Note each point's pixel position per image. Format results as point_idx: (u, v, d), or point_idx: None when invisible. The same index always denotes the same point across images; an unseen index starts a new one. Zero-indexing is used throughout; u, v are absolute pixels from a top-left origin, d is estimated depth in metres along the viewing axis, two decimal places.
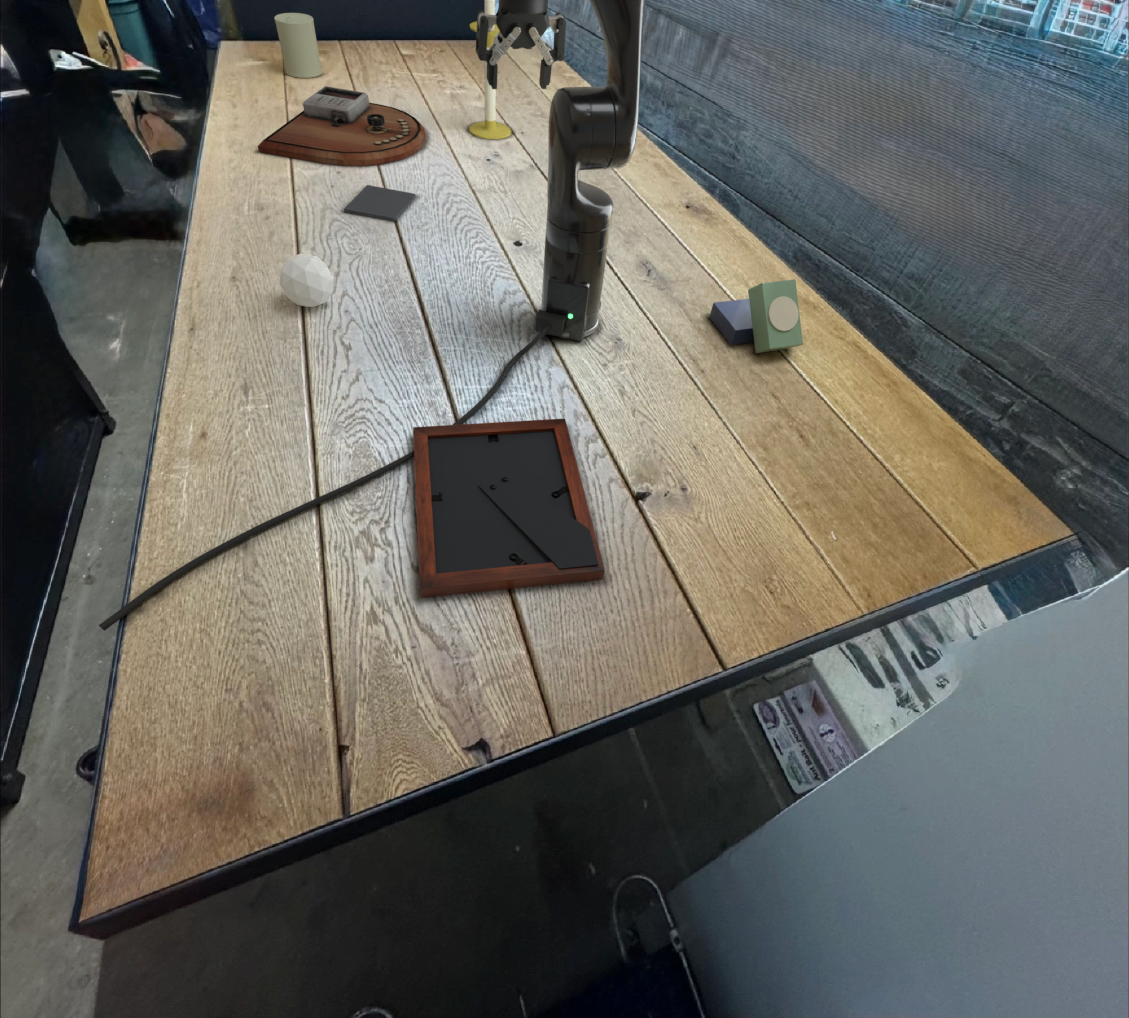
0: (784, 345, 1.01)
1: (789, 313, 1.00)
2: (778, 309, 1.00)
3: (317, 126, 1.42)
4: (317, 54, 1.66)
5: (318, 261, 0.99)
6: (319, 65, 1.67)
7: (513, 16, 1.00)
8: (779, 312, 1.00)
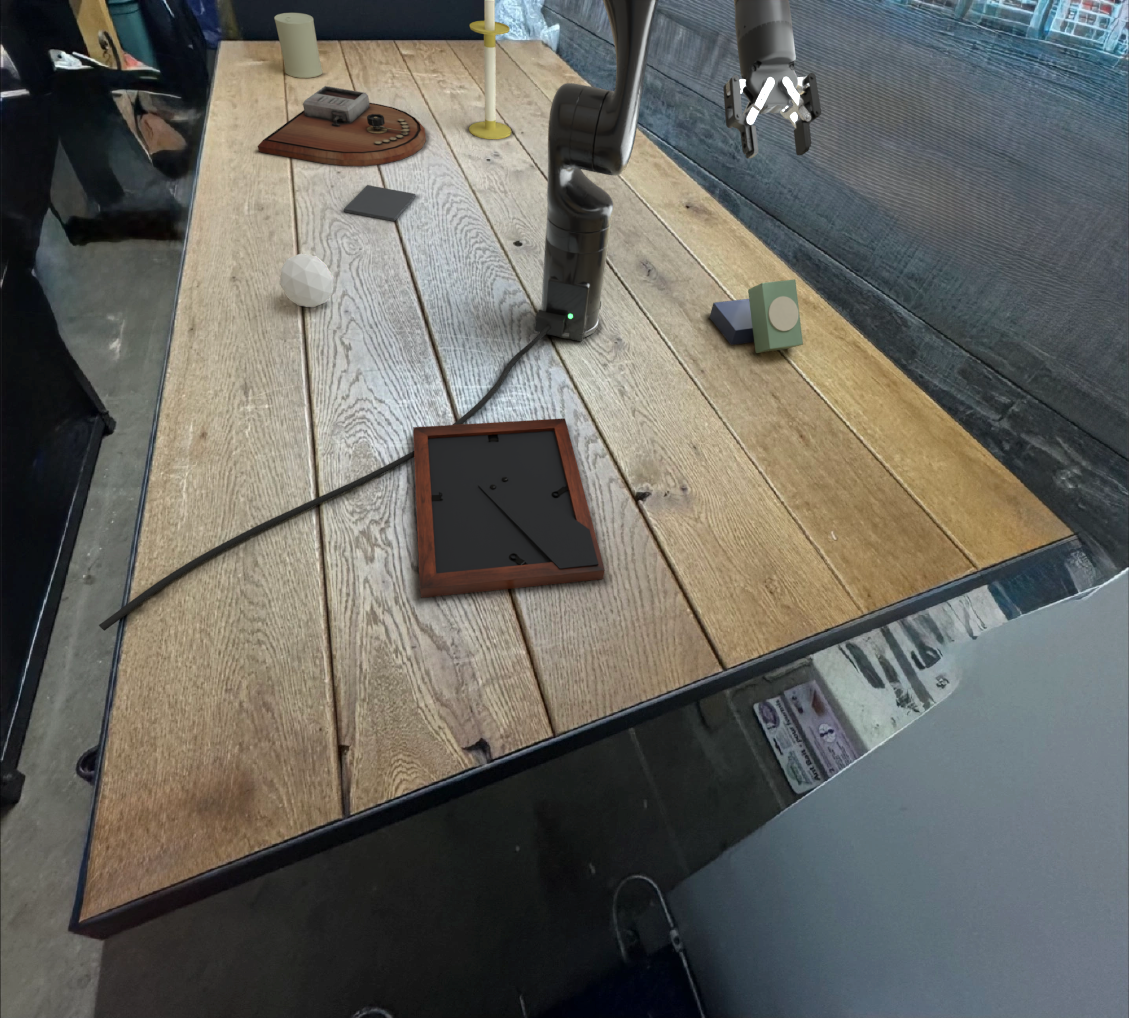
0: (784, 345, 1.01)
1: (789, 313, 1.00)
2: (778, 309, 1.00)
3: (317, 126, 1.42)
4: (317, 54, 1.66)
5: (318, 261, 0.99)
6: (319, 65, 1.67)
7: (763, 72, 0.92)
8: (779, 312, 1.00)
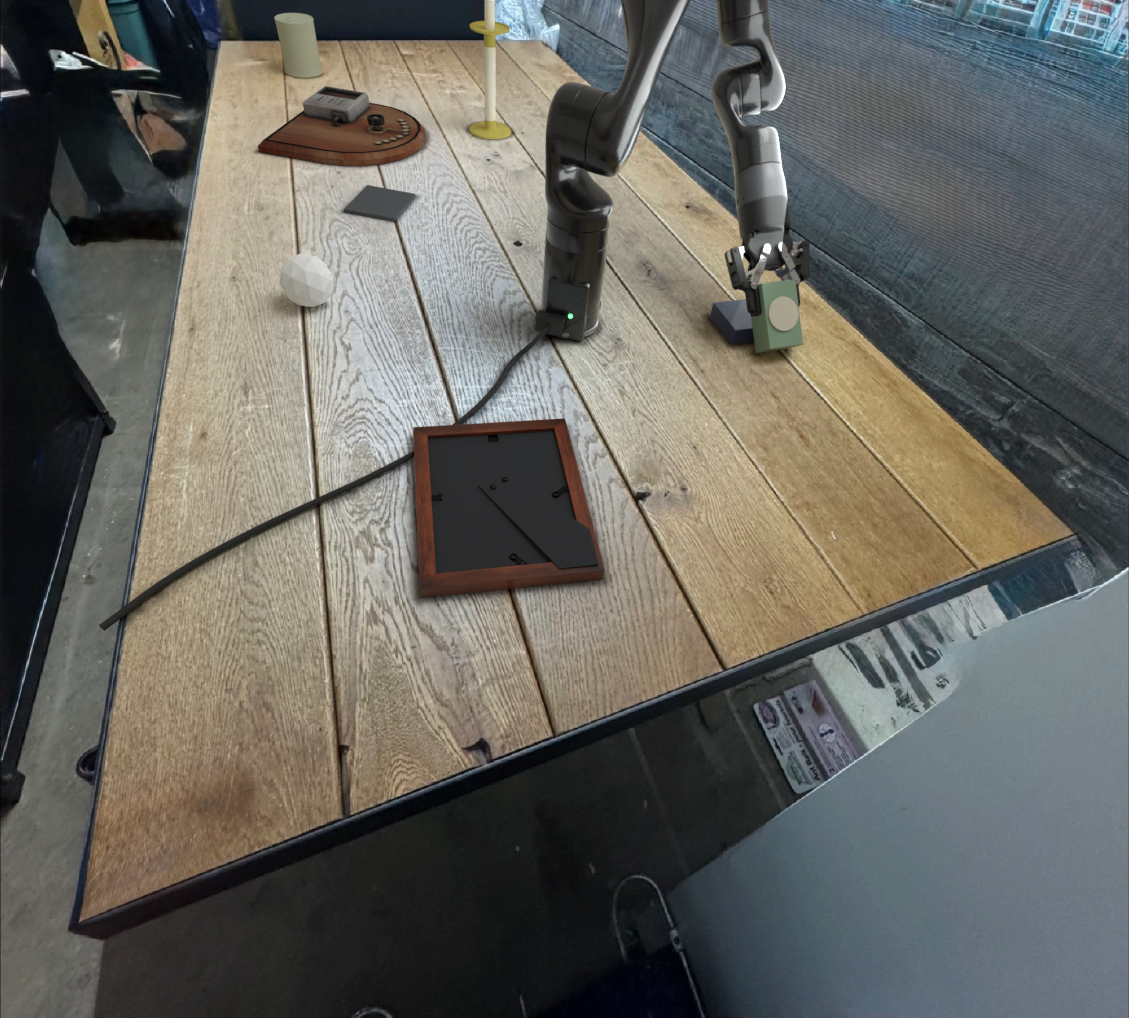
0: (784, 345, 1.01)
1: (789, 313, 1.00)
2: (778, 309, 1.00)
3: (317, 126, 1.42)
4: (317, 54, 1.66)
5: (318, 261, 0.99)
6: (319, 65, 1.67)
7: (760, 238, 0.99)
8: (779, 312, 1.00)
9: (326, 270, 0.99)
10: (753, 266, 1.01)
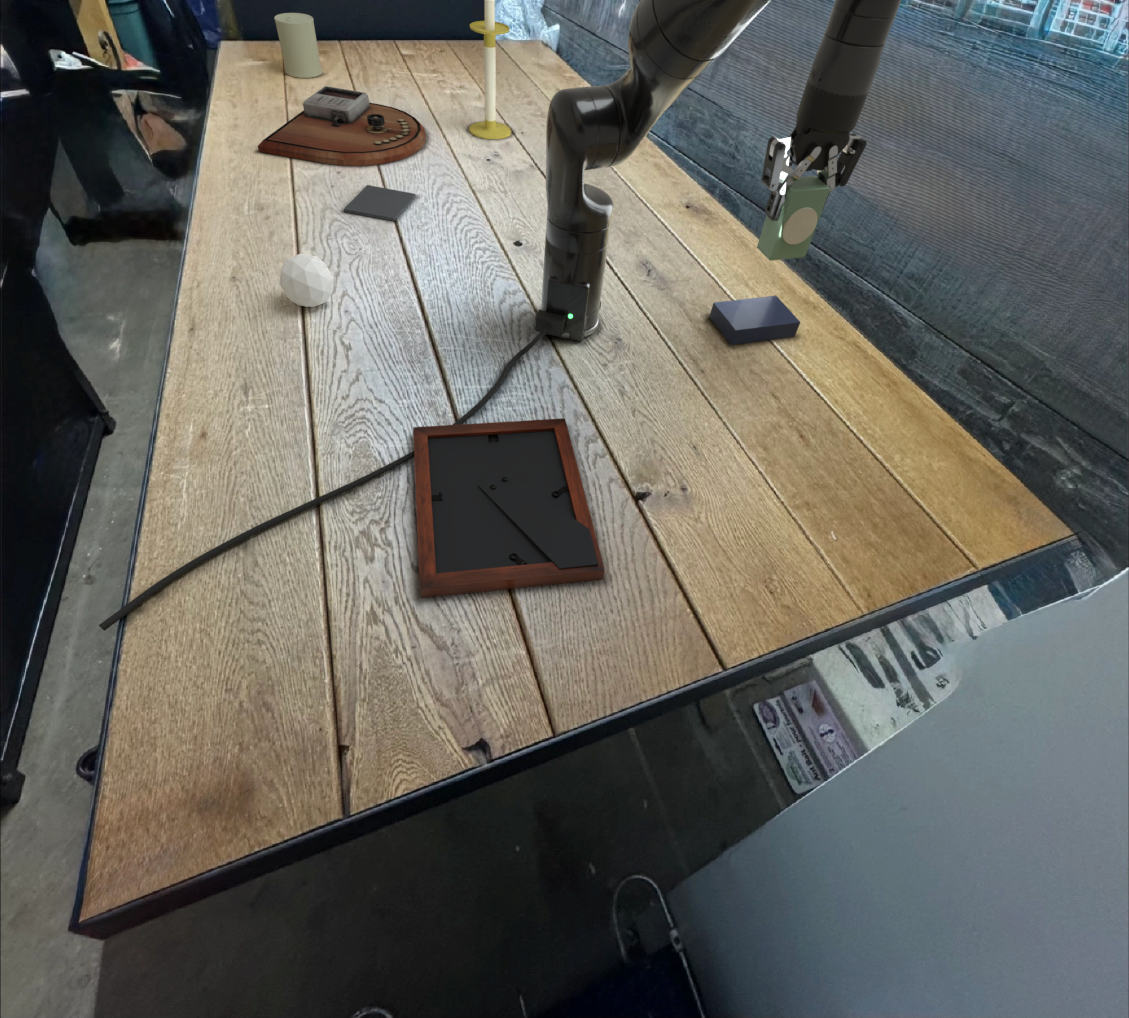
0: (785, 258, 0.95)
1: (806, 226, 0.92)
2: (796, 222, 0.91)
3: (317, 126, 1.42)
4: (317, 54, 1.66)
5: (318, 261, 0.99)
6: (319, 65, 1.67)
7: (815, 135, 0.83)
8: (796, 225, 0.91)
9: (326, 270, 0.99)
10: (793, 161, 0.87)
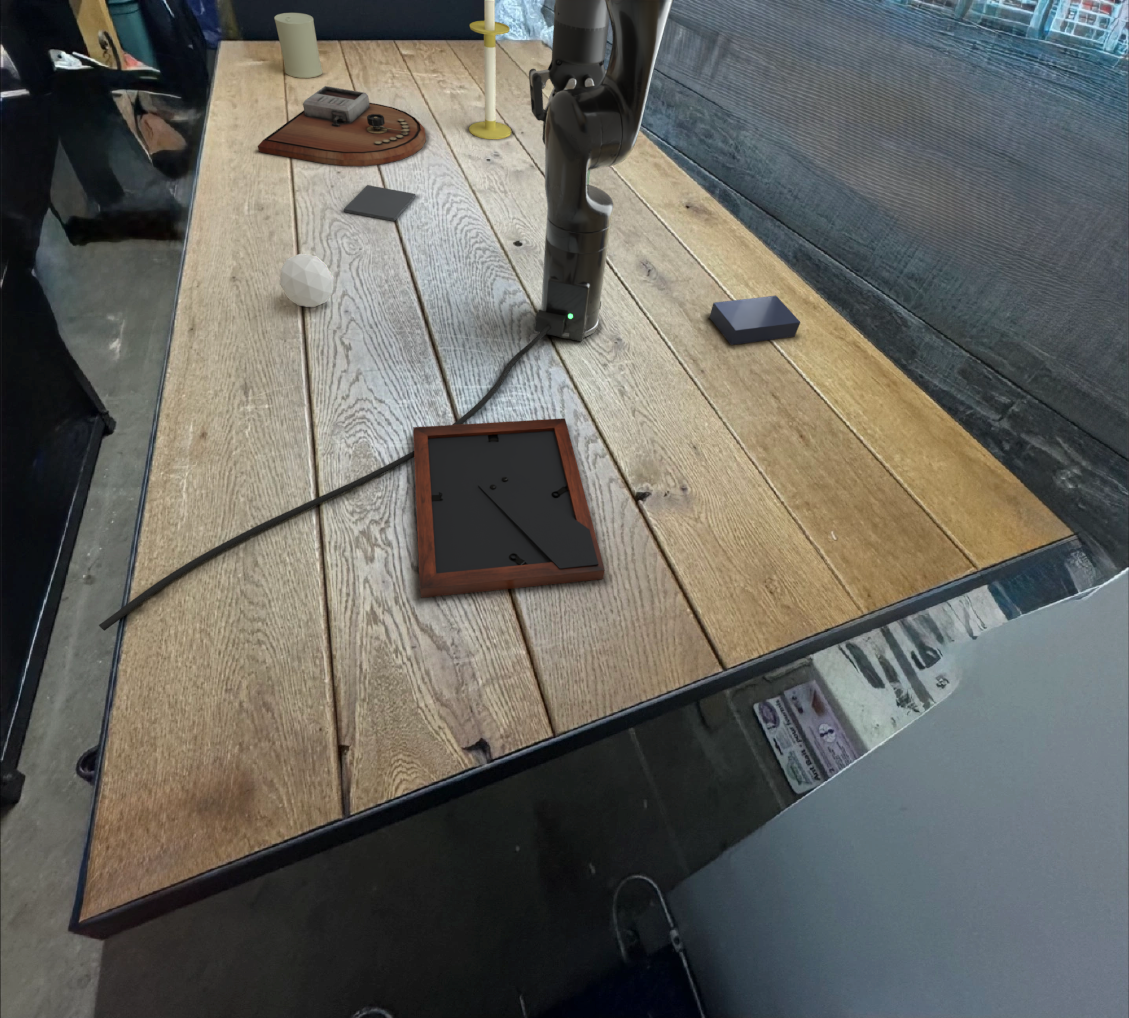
0: None
1: None
2: None
3: (317, 126, 1.42)
4: (317, 54, 1.66)
5: (318, 261, 0.99)
6: (319, 65, 1.67)
7: (568, 67, 0.92)
8: None
9: (326, 270, 0.99)
10: (557, 93, 0.95)
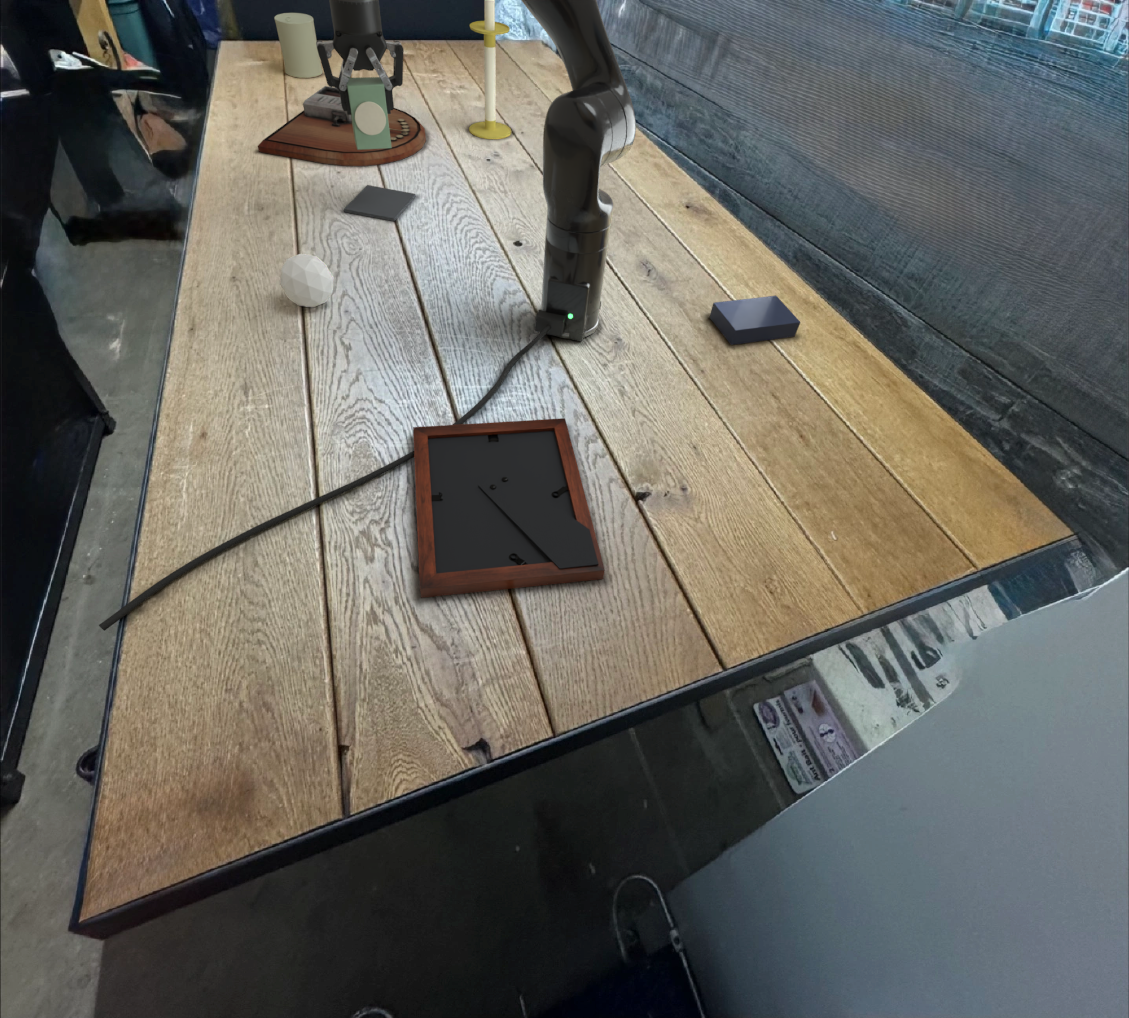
0: (372, 148, 1.16)
1: (376, 119, 1.13)
2: (364, 114, 1.12)
3: (317, 126, 1.42)
4: (317, 54, 1.66)
5: (318, 261, 0.99)
6: (319, 65, 1.67)
7: (348, 38, 1.04)
8: (365, 117, 1.12)
9: (326, 270, 0.99)
10: None
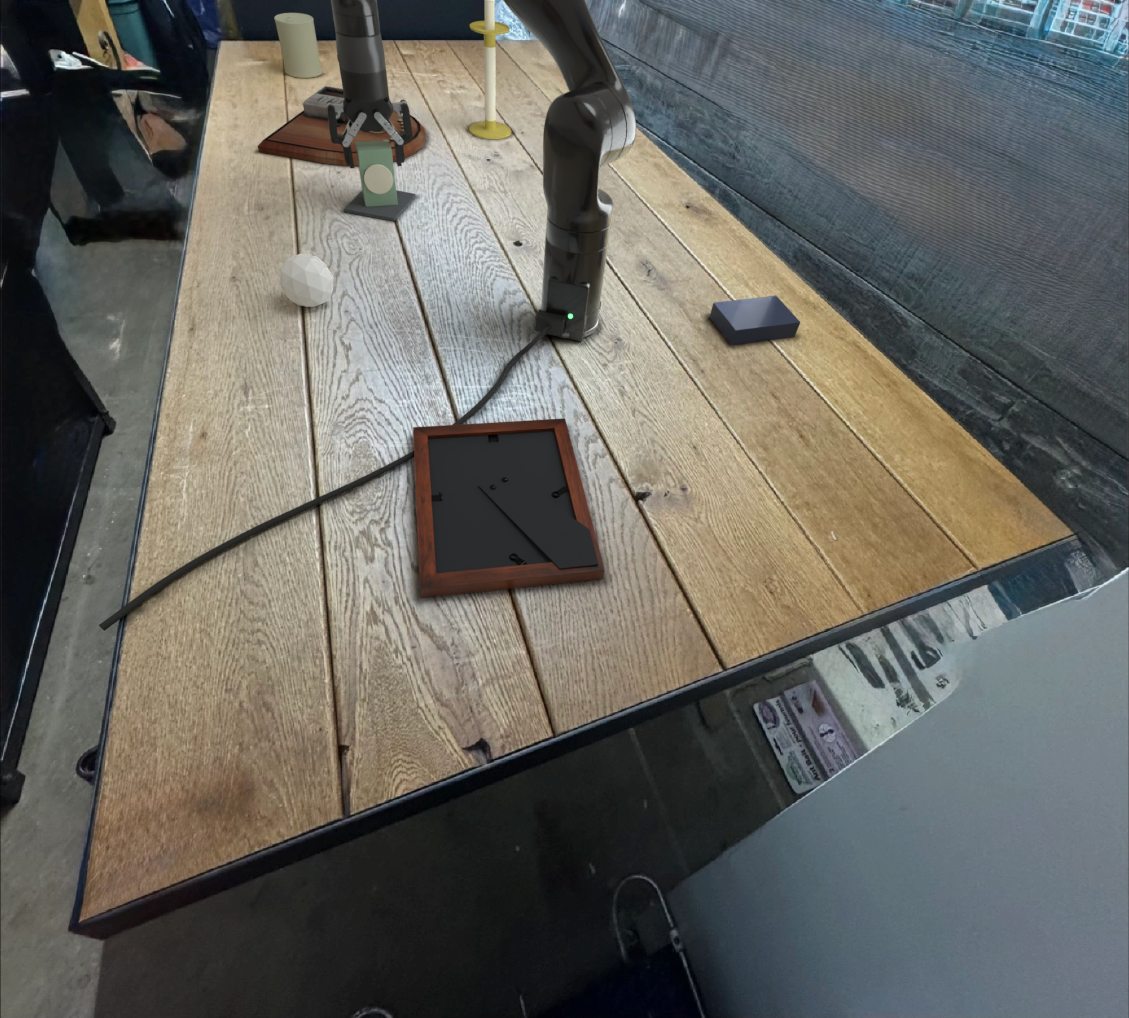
0: (379, 205, 1.24)
1: (384, 179, 1.21)
2: (373, 175, 1.20)
3: (317, 126, 1.42)
4: (317, 54, 1.66)
5: (318, 261, 0.99)
6: (319, 65, 1.67)
7: (357, 104, 1.11)
8: (374, 178, 1.20)
9: (326, 270, 0.99)
10: (352, 122, 1.14)
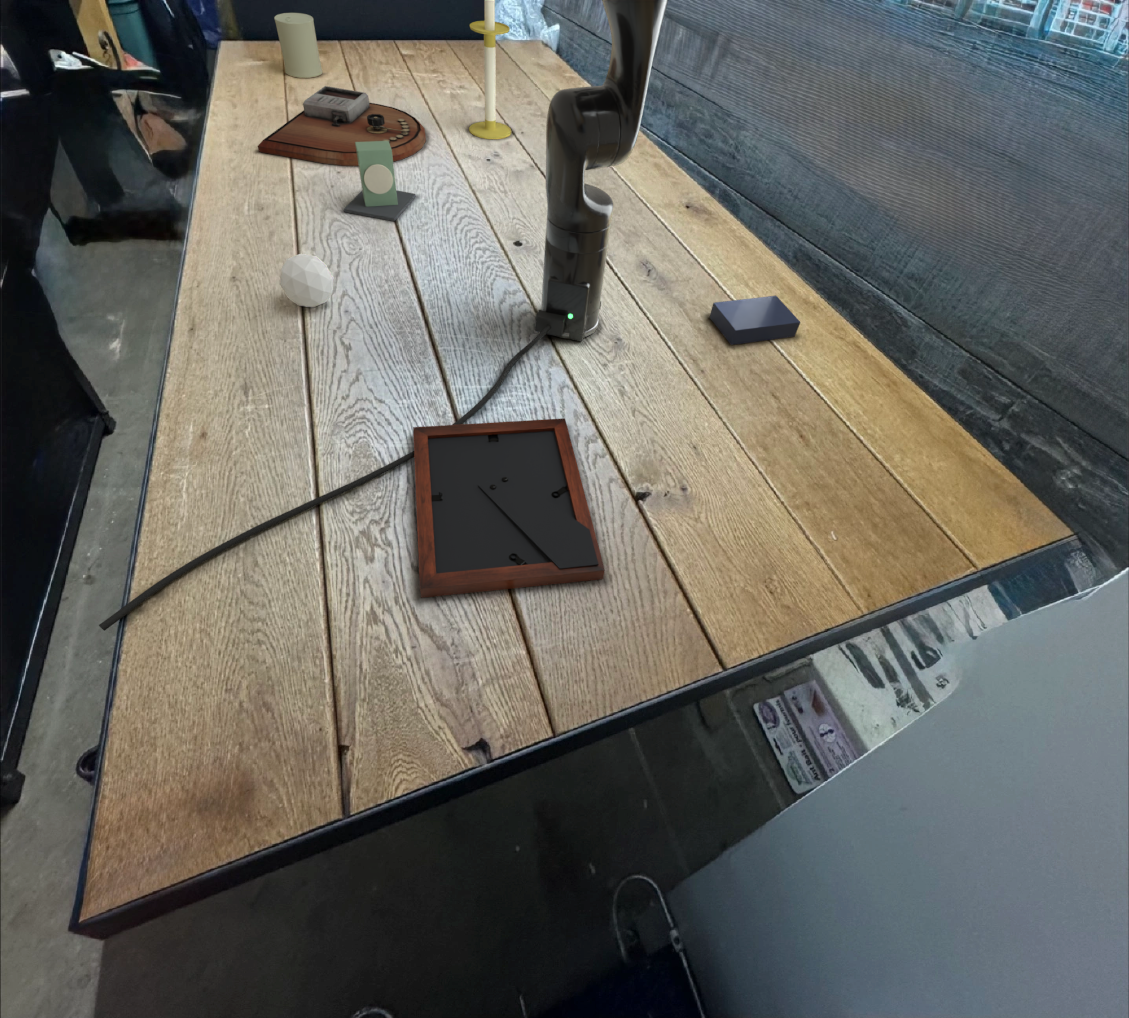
0: (379, 205, 1.24)
1: (384, 179, 1.21)
2: (373, 175, 1.20)
3: (317, 126, 1.42)
4: (317, 54, 1.66)
5: (318, 261, 0.99)
6: (319, 65, 1.67)
7: None
8: (374, 178, 1.20)
9: (326, 270, 0.99)
10: None
